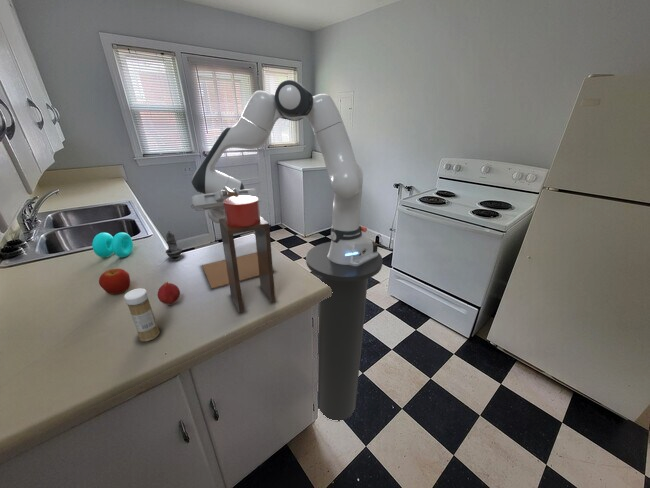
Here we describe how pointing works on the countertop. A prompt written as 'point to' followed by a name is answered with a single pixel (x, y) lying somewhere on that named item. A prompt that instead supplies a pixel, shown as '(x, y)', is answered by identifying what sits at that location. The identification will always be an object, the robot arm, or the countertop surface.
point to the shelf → (262, 252)
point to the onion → (168, 293)
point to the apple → (115, 281)
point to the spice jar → (142, 314)
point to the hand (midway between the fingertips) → (229, 192)
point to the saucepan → (241, 209)
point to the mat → (220, 276)
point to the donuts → (112, 244)
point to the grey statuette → (173, 248)
